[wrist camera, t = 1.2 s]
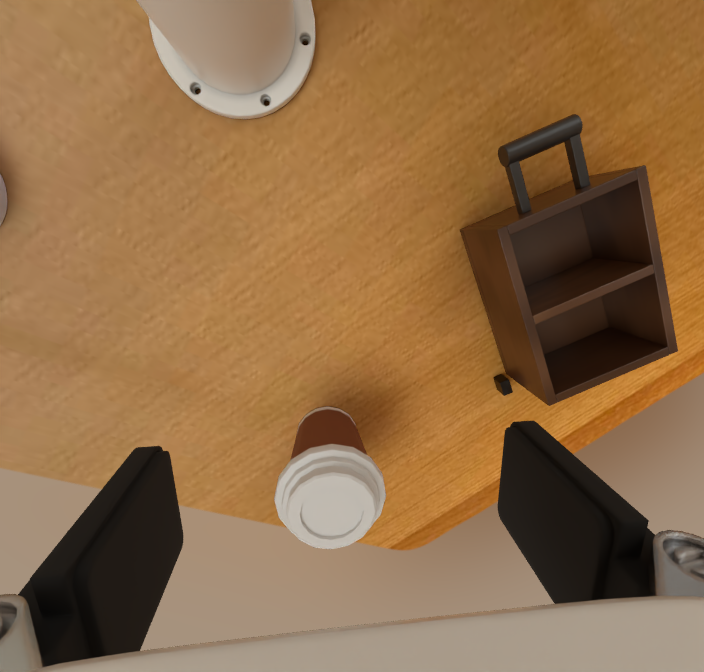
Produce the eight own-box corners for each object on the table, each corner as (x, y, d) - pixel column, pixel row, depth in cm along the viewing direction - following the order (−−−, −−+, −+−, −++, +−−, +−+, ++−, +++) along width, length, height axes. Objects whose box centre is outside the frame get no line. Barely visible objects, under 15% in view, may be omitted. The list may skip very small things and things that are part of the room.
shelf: (441, 172, 35) (475, 157, 27) (564, 118, 35) (632, 88, 27) (506, 374, 41) (549, 406, 33) (611, 328, 41) (678, 351, 33)
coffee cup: (284, 472, 42) (273, 564, 30) (283, 395, 40) (270, 463, 28) (367, 470, 43) (387, 558, 31) (371, 394, 40) (393, 459, 29)
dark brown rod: (493, 377, 41) (499, 383, 40) (619, 323, 41) (631, 326, 39) (497, 390, 42) (504, 396, 40) (622, 336, 41) (634, 340, 40)
